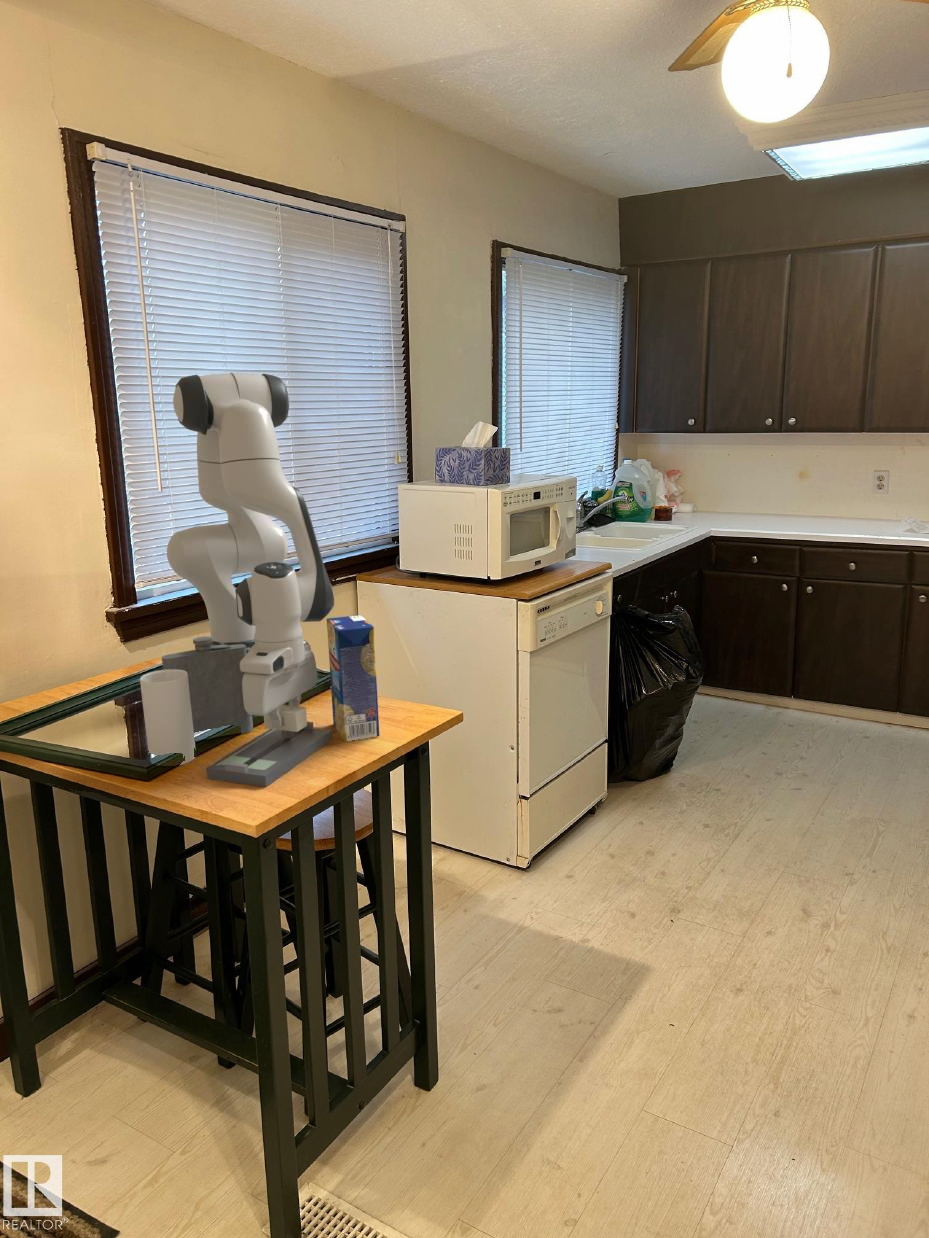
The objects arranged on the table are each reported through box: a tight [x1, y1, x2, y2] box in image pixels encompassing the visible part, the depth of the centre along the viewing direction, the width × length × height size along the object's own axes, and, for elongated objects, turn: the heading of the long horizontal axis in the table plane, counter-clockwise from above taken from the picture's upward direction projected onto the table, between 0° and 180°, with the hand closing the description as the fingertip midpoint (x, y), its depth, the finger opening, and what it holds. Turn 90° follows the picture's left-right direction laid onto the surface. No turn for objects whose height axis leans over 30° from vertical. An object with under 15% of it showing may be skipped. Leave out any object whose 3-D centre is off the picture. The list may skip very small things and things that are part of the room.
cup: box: [139, 669, 196, 766], centre depth 163 cm, size 8×8×16 cm
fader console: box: [205, 720, 333, 788], centre depth 164 cm, size 23×12×3 cm, turn 159°
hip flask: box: [161, 636, 254, 735], centre depth 174 cm, size 16×4×20 cm, turn 119°
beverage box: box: [326, 614, 380, 743], centre depth 174 cm, size 7×11×22 cm, turn 20°
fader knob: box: [263, 704, 308, 738], centre depth 167 cm, size 4×7×6 cm, turn 69°
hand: (285, 722), depth 167 cm, fingers closed on fader knob, 4 cm apart
